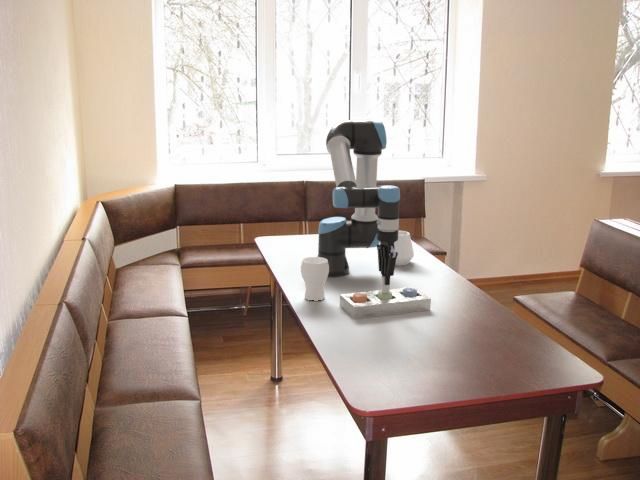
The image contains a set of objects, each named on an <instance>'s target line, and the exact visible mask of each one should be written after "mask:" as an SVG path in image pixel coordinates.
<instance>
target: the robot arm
mask: <svg viewBox="0 0 640 480" xmlns="http://www.w3.org/2000/svg"><path fill="white" fill-rule="evenodd" d="M387 140H388V139H387V132H386V127H385V125H384V123H383V122H382V121H381V120H374V119H357V120H356V119H353V120H352V119H350V120H349V119H346V120H342V121H339V122H337V123H336V124H335V125H333V126H332V127H331V129H330V130H329V131H328V133H327V135H326V140H325V145H326V150H327V152H328V153H329V154H330V159H331V165H332V170H333V175H334V181H335V186H336V187H334V188H333V189H332V195H331V196H332V205H333V207H334V208H337V209H354V213H353V214H352V215H351V217H350V220H347V219H346V217H343V216H332V217H331V216H330V217H327V218H324V219H322V220H320V222H319V224H318V243H317V245H318V248H317V249H318V250H317V252H318V253H317V256H316V257H322V258H325V259H327V260H328V264H329V274H328V277H334V278H335V277H343V276H346V275H348V274H349V273H350V266H349V263H348V259H347V256H346V255H347V254H346V249H370V248H371V249H373V248H376V250H377V261H378V262H377V263H378V272H380V275H381V285H380V286H381V287H380V290H381V292H382V293H390V289H391V277H393V276H394V275H395V268H396V265H395V263H396V258H397V255H398V253H397V252H395V251H394V248H395V247H394V242H395V241H397V240H398V231H399V228H400V223H399V222H400V202H401V201H400V200H401V192H400V191H401V190H400V187H398V186H395V185H387V184H386V185H377V180H378V179H377V178H378V161H379V160H378V158H379V157H380V156H381V155H383V154H382V151H383V150H385V149H386V148H387ZM350 150H353V155H355V157H356V171H354V167H353V162H352V157H351V151H350ZM355 172H356V174H355ZM376 208H377V214H376Z"/></svg>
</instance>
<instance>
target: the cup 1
mask: <svg viewBox="0 0 640 480" xmlns="http://www.w3.org/2000/svg"><path fill="white" fill-rule="evenodd" d="M300 273H301V274H300V275H301V277H302V280H303V282H304V285H305V292H304V297H305V298H306V299H309V300H314V301H313V302H319V301H318V300H321V301H323V299H324V298H325V297H326V296H325V291H324V288H325V282H326V281H327V279H328V277H329V276H328V274H329V264H328V260H327V259H325V258H322V257H317V256H308V257H305V258H303V259H302V260H301V265H300ZM305 298H304V299H305ZM306 299H305V300H306ZM309 300H308V301H309ZM324 300H325V299H324Z"/></svg>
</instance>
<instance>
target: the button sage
mask: <svg viewBox="0 0 640 480" xmlns="http://www.w3.org/2000/svg"><path fill="white" fill-rule="evenodd" d="M378 298H379V299H380V300H387V299H392V292H390V293H382V292H381V291H379V292H378Z"/></svg>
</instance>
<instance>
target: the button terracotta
mask: <svg viewBox="0 0 640 480" xmlns="http://www.w3.org/2000/svg"><path fill="white" fill-rule="evenodd" d="M356 293H357V294H353V302H354V303H359V302H367V295H366V294H362V293H358V292H356Z"/></svg>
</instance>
